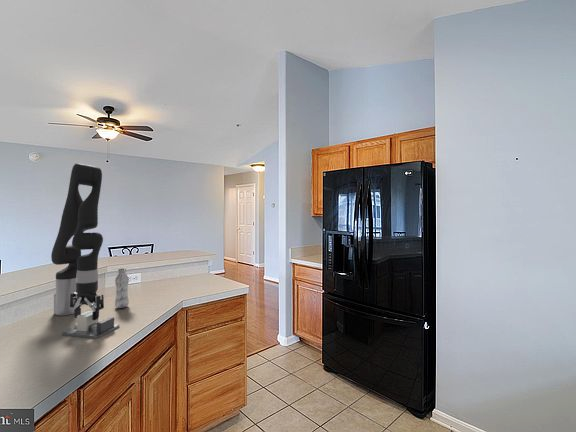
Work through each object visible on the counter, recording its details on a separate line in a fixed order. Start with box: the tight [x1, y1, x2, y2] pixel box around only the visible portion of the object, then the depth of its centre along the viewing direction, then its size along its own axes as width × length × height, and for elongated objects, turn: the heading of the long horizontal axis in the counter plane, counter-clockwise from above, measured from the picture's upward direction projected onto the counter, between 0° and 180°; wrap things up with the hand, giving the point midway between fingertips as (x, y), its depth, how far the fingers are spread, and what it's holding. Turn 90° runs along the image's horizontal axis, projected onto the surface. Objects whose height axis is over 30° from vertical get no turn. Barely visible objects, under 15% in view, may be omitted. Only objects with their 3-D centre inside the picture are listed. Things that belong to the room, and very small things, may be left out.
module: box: [76, 310, 99, 331], centre depth 122 cm, size 4×6×6 cm
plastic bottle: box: [114, 268, 130, 309], centre depth 151 cm, size 6×7×20 cm
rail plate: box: [61, 316, 120, 339], centre depth 122 cm, size 16×12×5 cm
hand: (86, 318), depth 122 cm, fingers open, 8 cm apart
